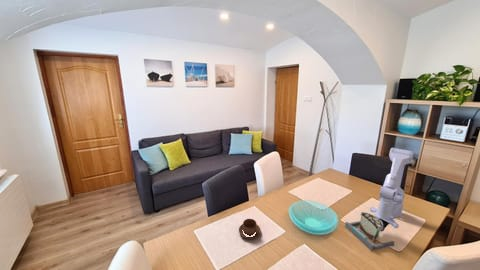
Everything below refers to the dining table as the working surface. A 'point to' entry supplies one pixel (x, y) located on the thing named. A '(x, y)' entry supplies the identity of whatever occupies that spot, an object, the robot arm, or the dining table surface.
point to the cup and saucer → (249, 228)
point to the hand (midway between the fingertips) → (380, 230)
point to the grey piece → (364, 240)
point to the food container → (370, 226)
